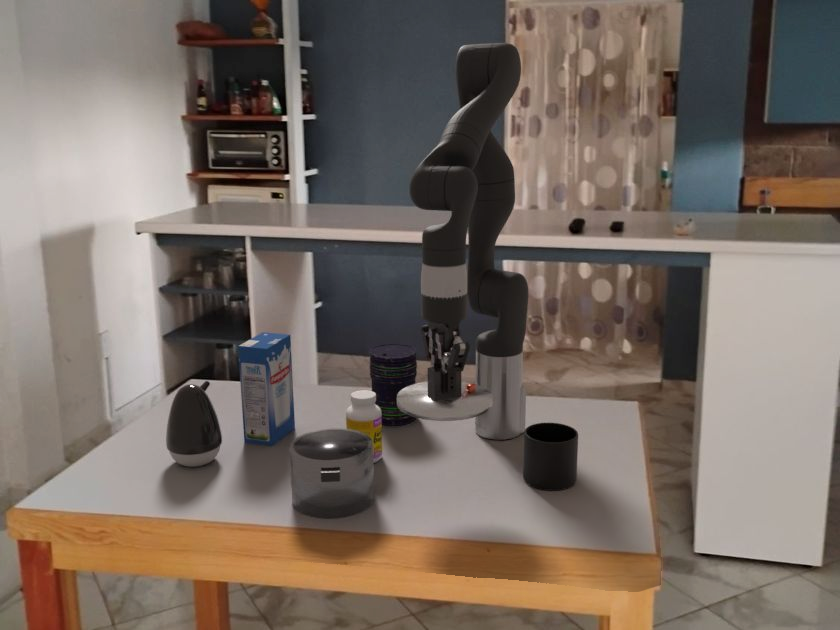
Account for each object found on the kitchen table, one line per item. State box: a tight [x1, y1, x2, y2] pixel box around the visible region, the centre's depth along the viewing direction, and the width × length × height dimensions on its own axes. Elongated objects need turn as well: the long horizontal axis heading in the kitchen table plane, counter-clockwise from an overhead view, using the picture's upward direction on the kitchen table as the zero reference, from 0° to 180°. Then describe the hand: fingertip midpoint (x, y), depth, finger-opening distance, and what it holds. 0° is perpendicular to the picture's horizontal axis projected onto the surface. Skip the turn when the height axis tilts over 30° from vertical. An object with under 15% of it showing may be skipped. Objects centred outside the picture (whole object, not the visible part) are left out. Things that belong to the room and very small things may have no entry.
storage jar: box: [369, 343, 418, 428], centre depth 185 cm, size 10×10×15 cm
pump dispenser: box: [165, 380, 223, 468], centre depth 165 cm, size 10×10×15 cm
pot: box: [289, 427, 375, 519], centre depth 151 cm, size 18×14×10 cm
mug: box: [522, 422, 579, 491], centre depth 158 cm, size 9×12×9 cm
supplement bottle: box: [345, 389, 383, 464], centre depth 166 cm, size 7×7×13 cm
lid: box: [397, 364, 493, 422], centre depth 148 cm, size 16×16×6 cm
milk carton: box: [237, 331, 296, 447], centre depth 176 cm, size 10×6×20 cm, turn 161°
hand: (444, 390), depth 148 cm, fingers closed on lid, 2 cm apart
